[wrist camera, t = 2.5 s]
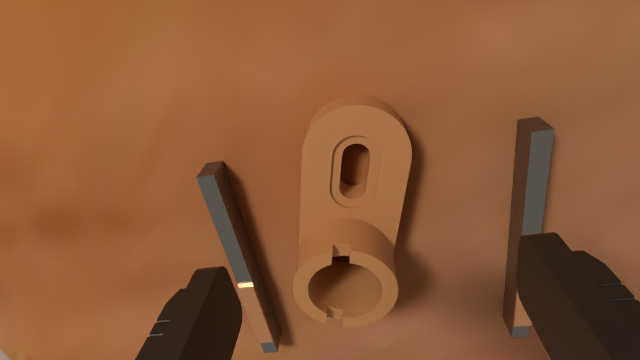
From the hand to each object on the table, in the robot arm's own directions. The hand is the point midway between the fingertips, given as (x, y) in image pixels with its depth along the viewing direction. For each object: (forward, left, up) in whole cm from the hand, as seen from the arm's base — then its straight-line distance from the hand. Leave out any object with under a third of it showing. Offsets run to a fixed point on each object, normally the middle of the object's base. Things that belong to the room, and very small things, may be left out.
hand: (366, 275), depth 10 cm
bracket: (+10, -2, -21) cm, 23 cm away
